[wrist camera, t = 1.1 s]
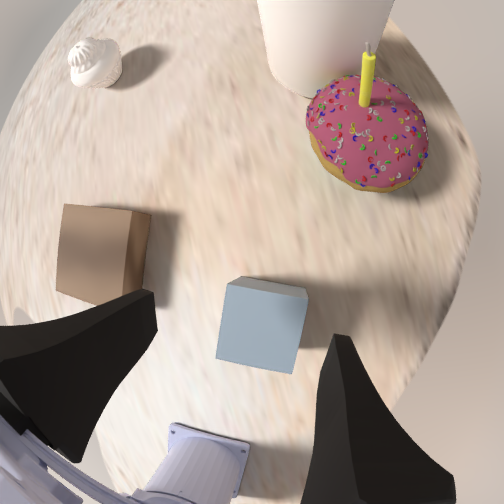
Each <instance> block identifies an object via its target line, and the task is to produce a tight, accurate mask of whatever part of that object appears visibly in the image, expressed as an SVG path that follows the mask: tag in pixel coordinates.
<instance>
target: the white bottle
mask: <svg viewBox="0 0 504 504" xmlns="http://www.w3.org/2000/svg"><path fill="white" fill-rule="evenodd" d="M393 2H394V0H257V3H258V8H259V13H260V18H261V24H262V29H263V34H264V40H265V46H266V51H267V57H268V63H269V67H270V70H271V73H272V74H273V76H274V77H275V79H276V80H277V81H278V82H279V83H280V84H281V85H283V86H284V87H286V88H287V89H288V90H290V91H292V92H294V93H296V94H298V95H301V96H305V97H308V98H312V99H313V98H314V97H315V94H316V93H317V90H319V89H320V90H321V89H322V88H323V87H325V86H326V85H327V84H329V81H331V80H333V79H335V80H336V79H339V78H340V77H343V76H346V75H350V76H351V75H361V71H362V56H363V53H364V52H366V44H365V42H369V44H370V46H371V49H370V51H371V52H372V53H374V54H375V53H376V50H377V47H378V45H379V42H380V39H381V36H382V34H383V31H384V28H385V25H386V23H387V20H388V17H389V14H390V11H391V8H392V6H393ZM318 92H319V91H318Z"/></svg>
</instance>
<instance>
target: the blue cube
mask: <svg viewBox="0 0 504 504" xmlns="http://www.w3.org/2000/svg"><path fill="white" fill-rule="evenodd" d="M308 301H309V298H308V295H307V292H306V289H305V288H302V287H297V286H291V285H285V284H280V283H274V282H269V281H264V280H258V279H253V278H248V277H242V276H241V277H239V278H237V279H235V280H233V281H232V282H230V283H228V284H227V287H226V294H225V300H224V306H223V312H222V319H221V325H220V331H219V338H218V344H217V351H216V359H220V360H224V361H228V362H233V363H237V364H242V365H246V366H251V367H256V368H261V369H266V370H271V371H276V372H282V373H288V374H292V372H293V368H294V364H295V360H296V355H297V351H298V347H299V343H300V338H301V334H302V329H303V325H304V320H305V316H306V311H307V306H308Z"/></svg>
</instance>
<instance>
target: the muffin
mask: <svg viewBox="0 0 504 504" xmlns="http://www.w3.org/2000/svg"><path fill="white" fill-rule="evenodd" d="M68 61H69V65H71V80H72V82H73V83H74V84H75V85H76V86H79V87H84V88H106V87H109V86H111V85H113V83H115V82H116V81H117V80H118V79H119V77H120V76H121V74H122V59H121V51H120V48H119V45H118V43H117V42H116V41H114V40H113V39H108V38H106V39H101V40H100V39H97V40H96V39H94V38H91V37H89V38H85V39H82V40H81V41H79V42H78V43H77V44H76V45H74V47H73V48H72V49H71V52H70V53H69V56H68Z"/></svg>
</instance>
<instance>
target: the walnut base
mask: <svg viewBox="0 0 504 504" xmlns="http://www.w3.org/2000/svg"><path fill="white" fill-rule="evenodd" d="M150 220H151V215H148V214H144V213H139V212H135V211H129V210H121V209H112V208H102V207H93V206H83V205H74V204H64V208H63V214H62V221H61V229H60V237H59V247H58V258H57V274H56V291H58V292H61V293H63V294H66V295H69V296H72V297H74V298H77V299H80V300H83V301H85V302H88V303H91V304H94V305H97V306H98V305H101V304H103V303H106V302H108V301H111V300H113V299H116V298H118V297H120V296H123V295H125V294H128V293H131V292H133V291H136V290H139V289H142V282H143V273H144V264H145V255H146V248H147V240H148V233H149V226H150Z"/></svg>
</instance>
